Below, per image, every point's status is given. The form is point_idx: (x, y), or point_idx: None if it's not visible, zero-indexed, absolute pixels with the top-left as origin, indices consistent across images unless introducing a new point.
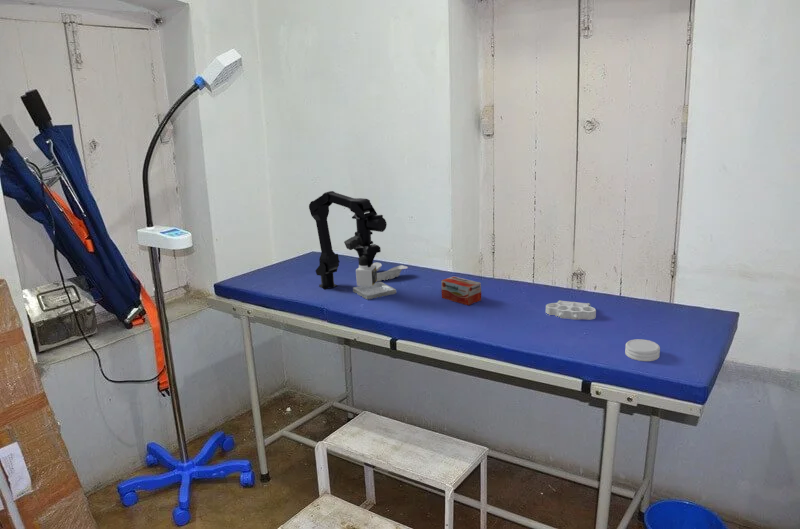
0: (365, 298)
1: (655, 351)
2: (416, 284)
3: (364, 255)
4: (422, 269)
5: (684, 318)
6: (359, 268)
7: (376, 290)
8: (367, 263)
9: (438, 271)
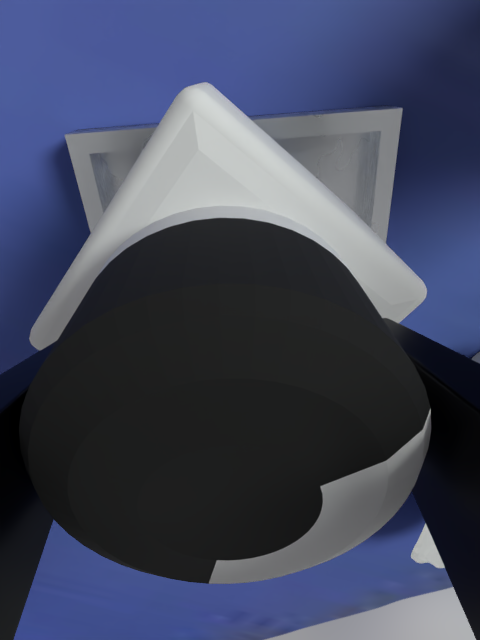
0: (113, 127)
1: None
2: None
3: (441, 513)
4: (442, 577)
5: None
6: (217, 193)
7: None
8: (5, 377)
9: (360, 604)
